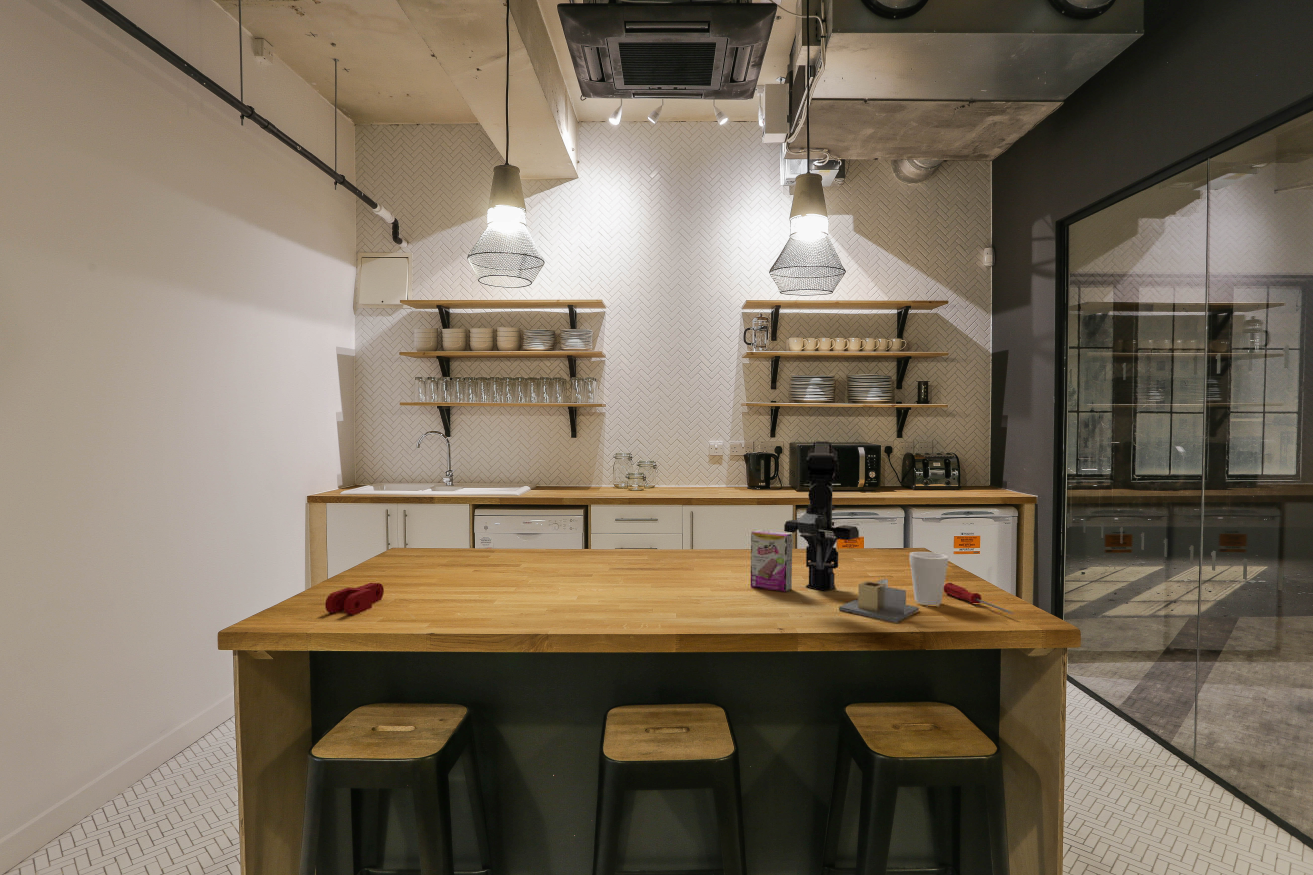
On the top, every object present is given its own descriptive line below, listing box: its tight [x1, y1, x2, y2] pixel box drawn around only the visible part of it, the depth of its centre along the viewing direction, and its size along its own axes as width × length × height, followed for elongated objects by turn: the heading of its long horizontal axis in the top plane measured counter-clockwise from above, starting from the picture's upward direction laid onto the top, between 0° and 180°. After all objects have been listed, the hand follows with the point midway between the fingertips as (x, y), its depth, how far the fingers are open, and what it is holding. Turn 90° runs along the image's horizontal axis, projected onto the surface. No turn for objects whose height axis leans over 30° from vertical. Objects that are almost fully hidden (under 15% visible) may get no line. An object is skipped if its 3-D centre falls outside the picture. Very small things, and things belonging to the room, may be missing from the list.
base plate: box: [838, 598, 920, 624], centre depth 165 cm, size 15×14×1 cm
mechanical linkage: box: [324, 582, 385, 616], centre depth 166 cm, size 16×7×5 cm, turn 167°
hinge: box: [857, 578, 907, 615], centre depth 164 cm, size 11×11×6 cm
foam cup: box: [909, 551, 949, 605], centre depth 172 cm, size 10×9×13 cm
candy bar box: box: [750, 529, 793, 593], centre depth 187 cm, size 11×5×16 cm, turn 58°
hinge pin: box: [816, 537, 824, 569], centre depth 167 cm, size 2×2×8 cm
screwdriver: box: [943, 582, 1015, 615], centre depth 170 cm, size 4×25×4 cm, turn 11°
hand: (820, 562), depth 168 cm, fingers closed on hinge pin, 2 cm apart
